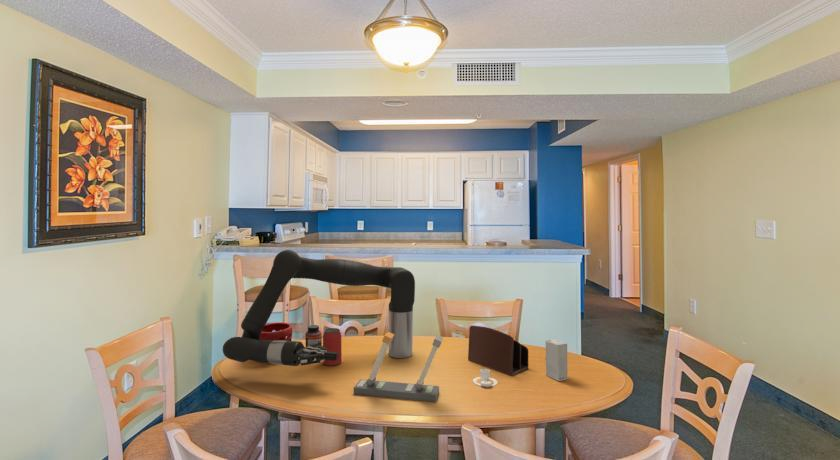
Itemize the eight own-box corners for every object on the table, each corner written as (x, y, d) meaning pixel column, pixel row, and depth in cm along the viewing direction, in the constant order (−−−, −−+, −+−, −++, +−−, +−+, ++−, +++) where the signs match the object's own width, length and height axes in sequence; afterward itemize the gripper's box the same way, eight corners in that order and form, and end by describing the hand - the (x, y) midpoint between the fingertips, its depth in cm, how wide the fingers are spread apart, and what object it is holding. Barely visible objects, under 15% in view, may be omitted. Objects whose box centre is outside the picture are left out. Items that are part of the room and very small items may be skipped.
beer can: (337, 366, 148) (337, 333, 148) (319, 365, 150) (319, 332, 149) (344, 360, 155) (344, 328, 154) (327, 359, 156) (327, 327, 156)
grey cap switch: (416, 383, 128) (436, 334, 126) (422, 386, 128) (443, 337, 126) (413, 388, 124) (434, 338, 122) (420, 392, 124) (441, 341, 122)
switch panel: (360, 385, 133) (360, 378, 133) (439, 392, 128) (439, 385, 128) (353, 394, 126) (353, 386, 126) (435, 401, 122) (435, 394, 122)
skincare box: (568, 379, 139) (568, 343, 138) (557, 382, 137) (558, 345, 136) (554, 373, 144) (555, 338, 144) (544, 375, 142) (545, 339, 142)
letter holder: (511, 376, 141) (512, 335, 141) (467, 360, 156) (468, 323, 155) (528, 369, 148) (529, 329, 147) (485, 355, 163) (485, 318, 162)
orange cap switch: (368, 379, 131) (387, 331, 129) (375, 382, 130) (394, 334, 129) (364, 384, 127) (384, 335, 125) (371, 387, 126) (391, 338, 125)
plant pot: (274, 350, 165) (273, 320, 165) (299, 355, 160) (299, 324, 159) (247, 361, 154) (246, 328, 153) (274, 367, 148) (273, 333, 147)
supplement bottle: (307, 353, 163) (307, 324, 162) (322, 352, 163) (322, 323, 163) (304, 358, 157) (304, 328, 156) (320, 358, 157) (320, 328, 157)
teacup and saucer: (491, 391, 130) (491, 378, 130) (467, 385, 135) (467, 372, 134) (501, 381, 138) (501, 369, 138) (478, 376, 142) (479, 364, 142)
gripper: (274, 347, 127) (328, 351, 124) (295, 335, 140) (344, 338, 137) (274, 372, 127) (328, 376, 124) (295, 357, 140) (345, 361, 137)
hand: (337, 356), depth 130 cm, fingers closed
